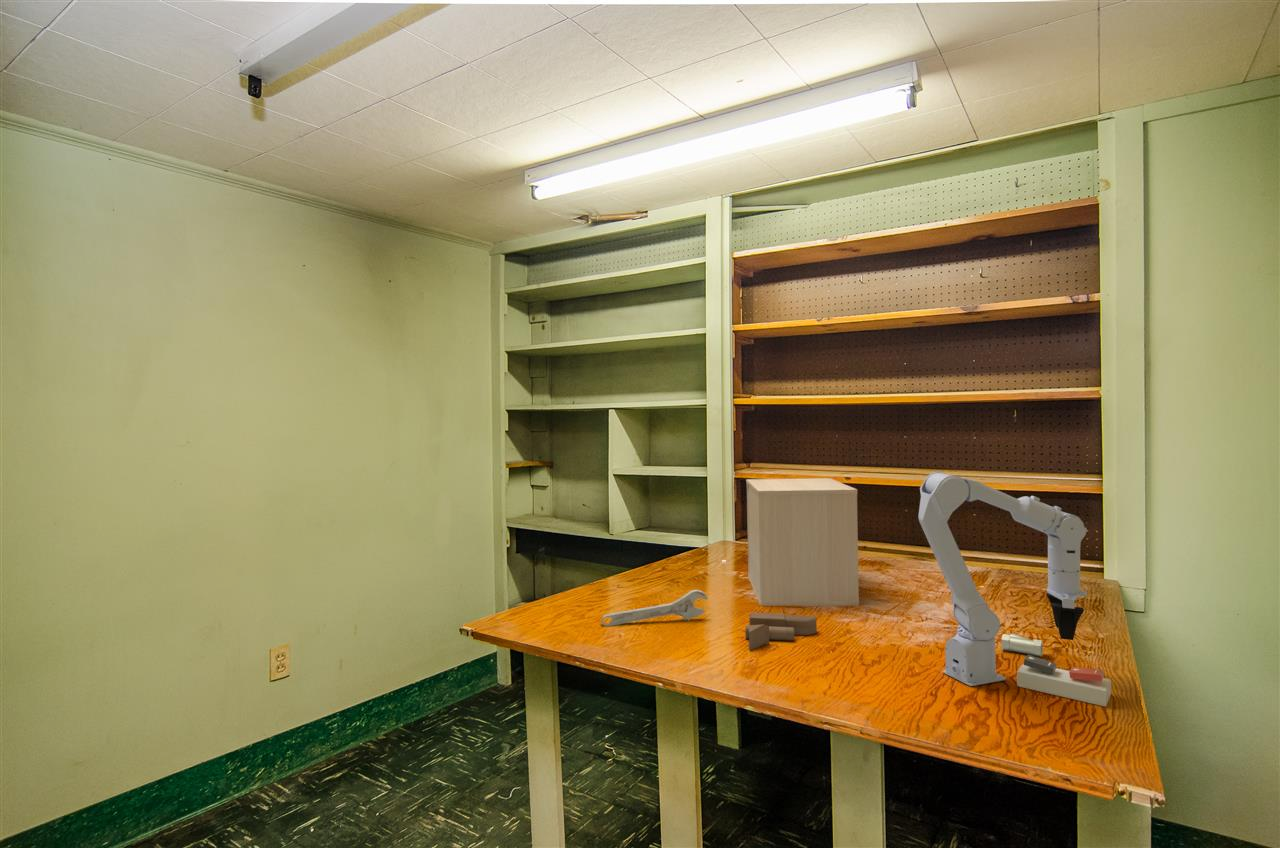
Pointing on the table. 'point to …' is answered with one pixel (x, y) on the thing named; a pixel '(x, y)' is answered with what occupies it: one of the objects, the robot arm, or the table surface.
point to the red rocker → (1086, 674)
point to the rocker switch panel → (1065, 685)
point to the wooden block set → (777, 627)
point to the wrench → (661, 610)
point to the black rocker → (1040, 664)
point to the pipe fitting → (1022, 645)
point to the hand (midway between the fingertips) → (1064, 633)
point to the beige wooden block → (802, 542)
